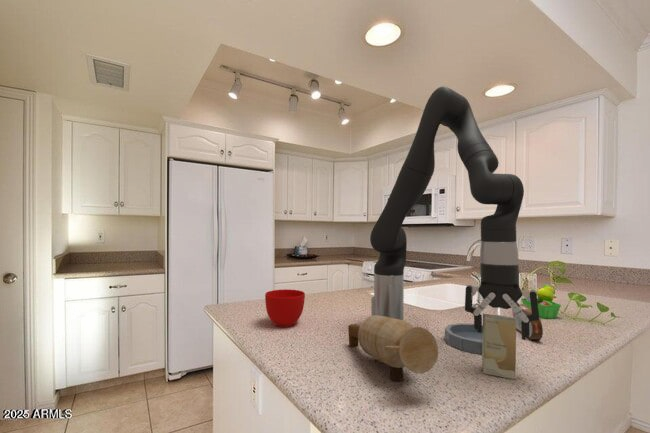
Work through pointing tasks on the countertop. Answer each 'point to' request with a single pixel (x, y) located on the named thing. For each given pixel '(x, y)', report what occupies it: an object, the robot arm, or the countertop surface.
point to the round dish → (464, 337)
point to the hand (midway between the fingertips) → (500, 335)
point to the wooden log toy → (395, 344)
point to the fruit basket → (545, 303)
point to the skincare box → (499, 346)
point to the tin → (534, 326)
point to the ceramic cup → (284, 306)
